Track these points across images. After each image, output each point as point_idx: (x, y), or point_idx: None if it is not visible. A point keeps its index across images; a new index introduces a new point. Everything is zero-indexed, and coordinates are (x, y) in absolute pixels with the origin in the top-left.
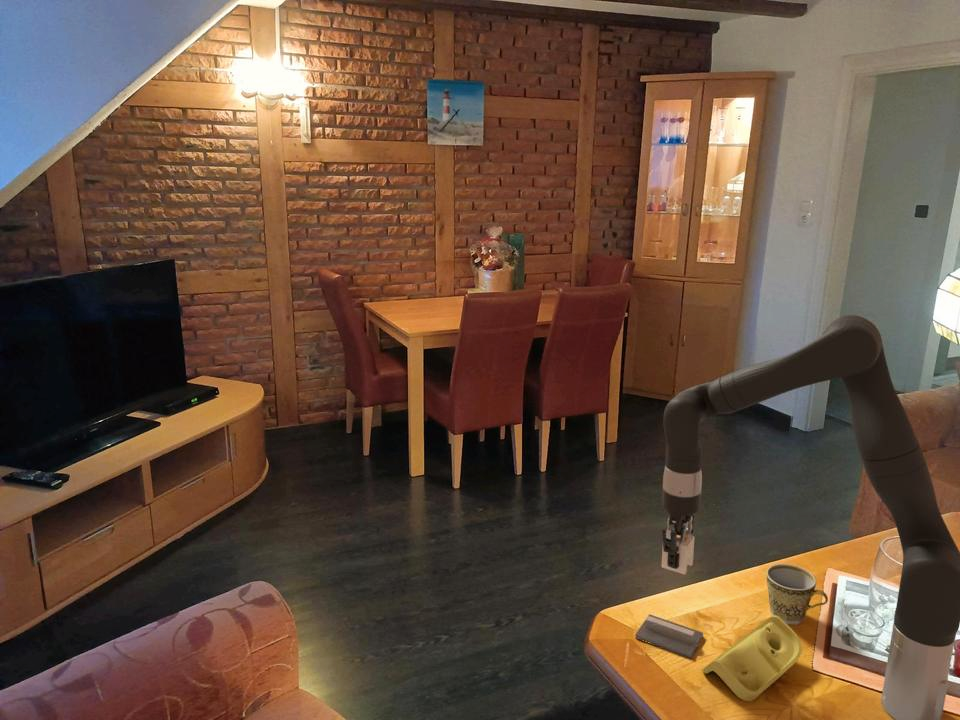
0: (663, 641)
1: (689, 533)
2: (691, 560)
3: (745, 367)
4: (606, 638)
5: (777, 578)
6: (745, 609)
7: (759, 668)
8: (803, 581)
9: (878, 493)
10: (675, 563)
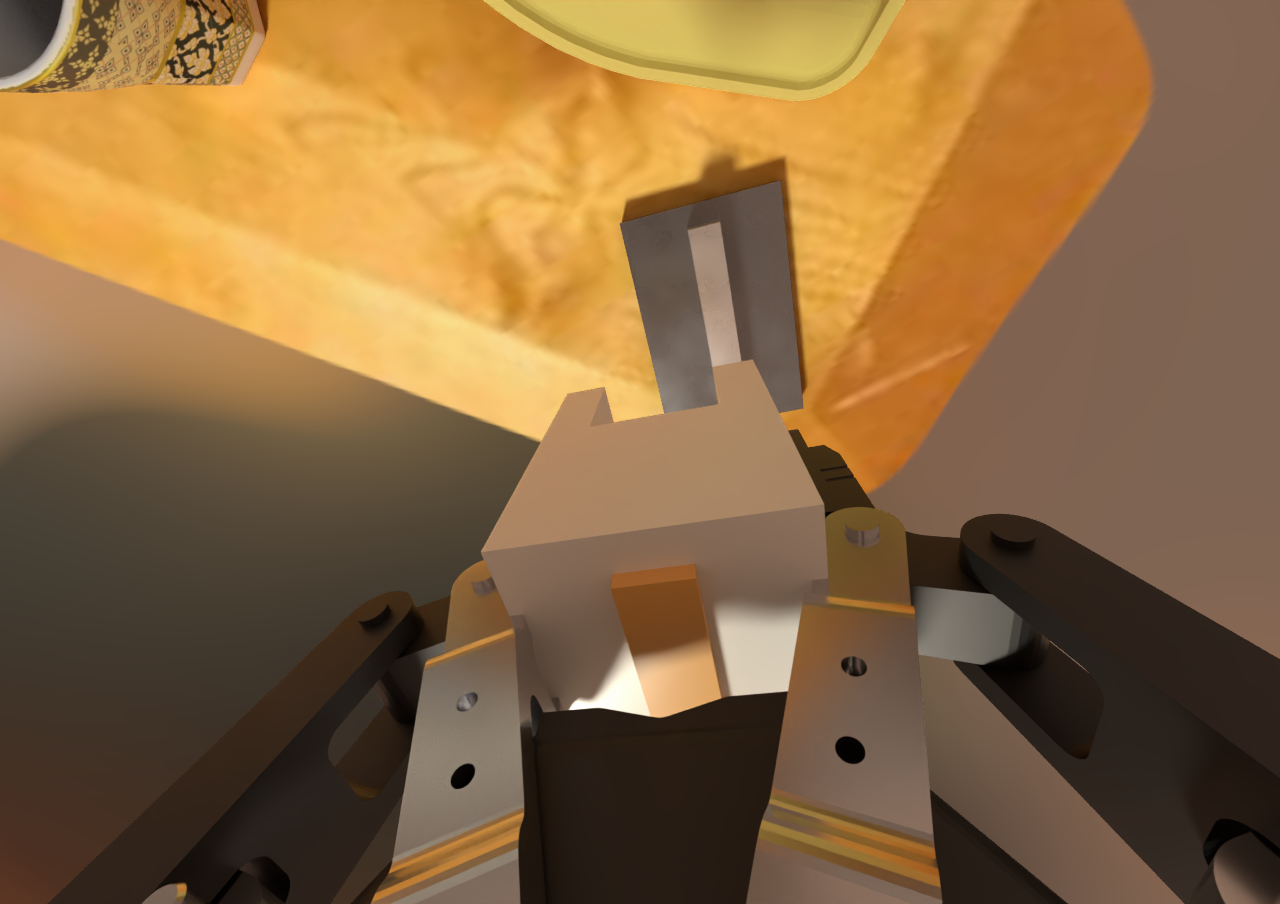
0: (778, 312)
1: (519, 628)
2: (597, 406)
3: None
4: (860, 466)
5: (24, 66)
6: (331, 185)
7: None
8: None
9: None
10: (826, 463)
